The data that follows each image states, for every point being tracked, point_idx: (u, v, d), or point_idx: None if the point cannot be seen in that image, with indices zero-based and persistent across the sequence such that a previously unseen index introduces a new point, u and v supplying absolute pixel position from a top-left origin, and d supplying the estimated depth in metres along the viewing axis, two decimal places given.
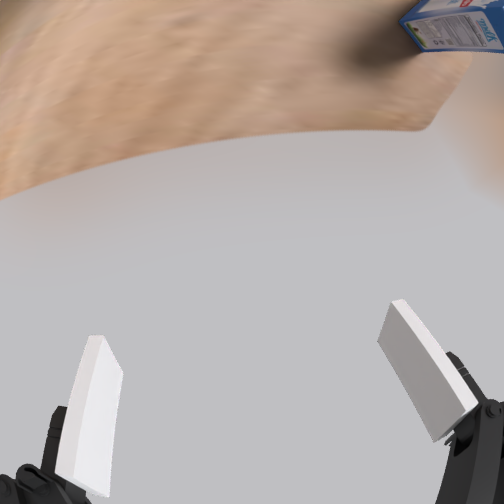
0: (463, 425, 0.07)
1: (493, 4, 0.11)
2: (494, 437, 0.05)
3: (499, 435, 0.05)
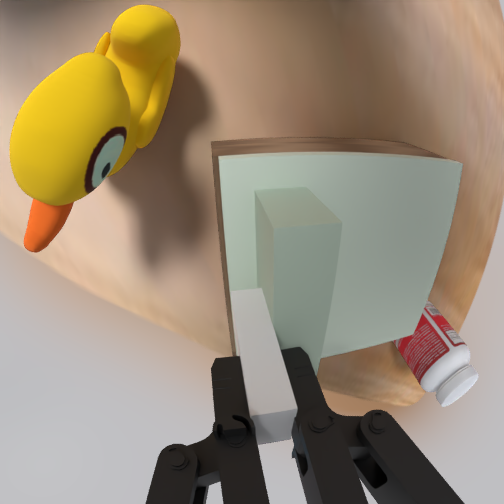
0: (294, 431, 0.08)
1: None
2: (335, 453, 0.07)
3: (342, 447, 0.07)
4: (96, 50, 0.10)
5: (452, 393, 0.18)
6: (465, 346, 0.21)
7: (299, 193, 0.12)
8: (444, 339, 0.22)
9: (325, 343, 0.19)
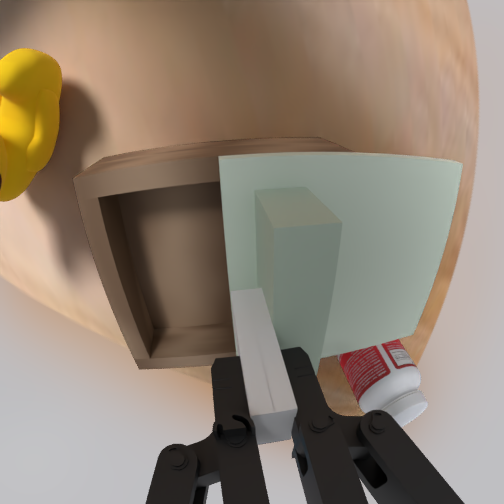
0: (294, 431, 0.08)
1: None
2: (335, 453, 0.07)
3: (342, 447, 0.07)
4: None
5: None
6: (412, 368, 0.20)
7: (299, 193, 0.12)
8: (386, 359, 0.21)
9: (325, 343, 0.19)
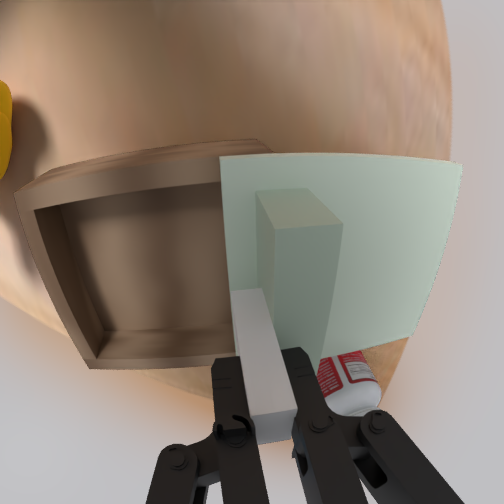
0: (294, 431, 0.08)
1: None
2: (335, 453, 0.07)
3: (342, 447, 0.07)
4: None
5: None
6: (369, 383, 0.19)
7: (300, 194, 0.12)
8: (341, 372, 0.20)
9: (324, 344, 0.19)
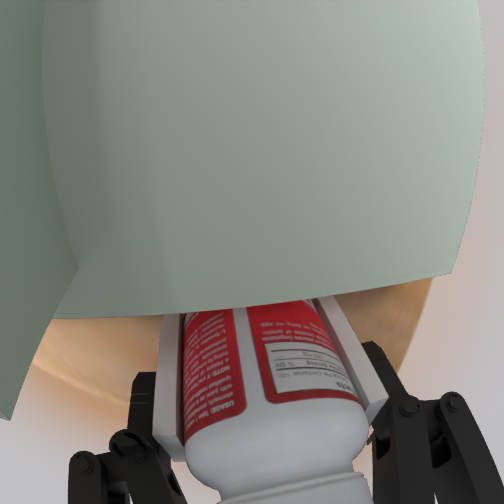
0: (378, 420, 0.08)
1: None
2: (417, 437, 0.06)
3: (423, 433, 0.07)
4: None
5: None
6: (331, 406, 0.07)
7: None
8: (249, 367, 0.08)
9: (167, 256, 0.06)
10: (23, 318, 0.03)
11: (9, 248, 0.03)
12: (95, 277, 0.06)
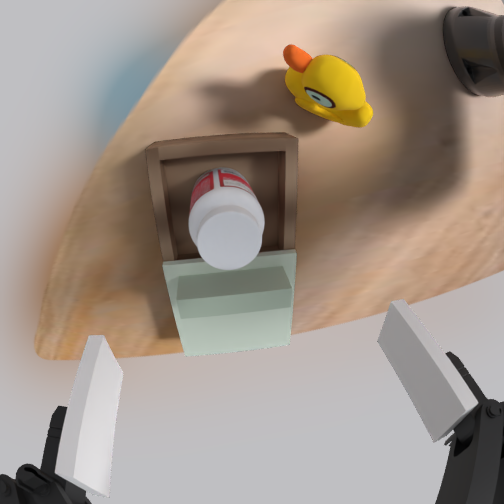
0: (463, 425, 0.07)
1: None
2: (494, 437, 0.05)
3: (499, 435, 0.05)
4: None
5: (204, 233, 0.20)
6: (242, 190, 0.22)
7: None
8: (216, 183, 0.23)
9: None
10: None
11: None
12: None
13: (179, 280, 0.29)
